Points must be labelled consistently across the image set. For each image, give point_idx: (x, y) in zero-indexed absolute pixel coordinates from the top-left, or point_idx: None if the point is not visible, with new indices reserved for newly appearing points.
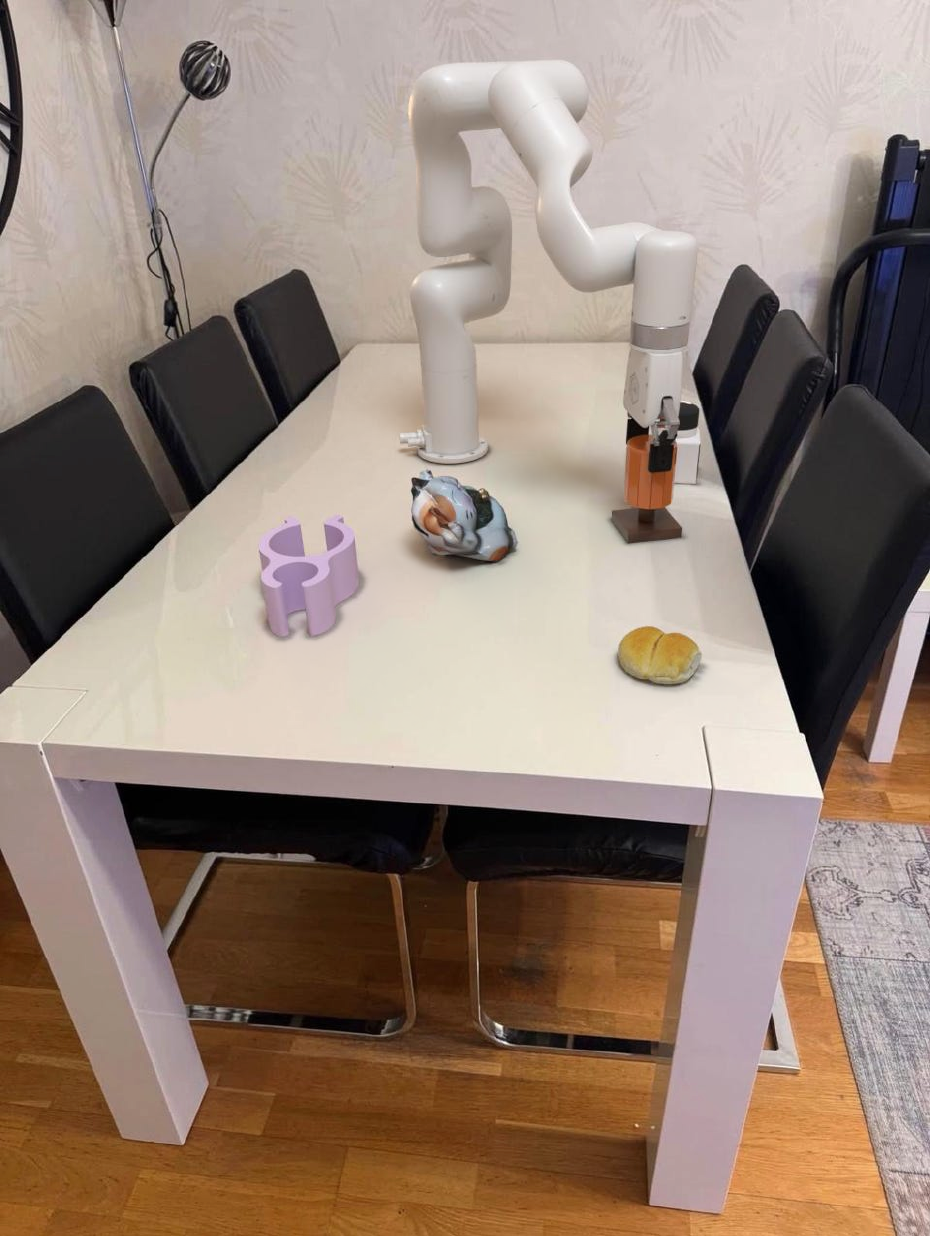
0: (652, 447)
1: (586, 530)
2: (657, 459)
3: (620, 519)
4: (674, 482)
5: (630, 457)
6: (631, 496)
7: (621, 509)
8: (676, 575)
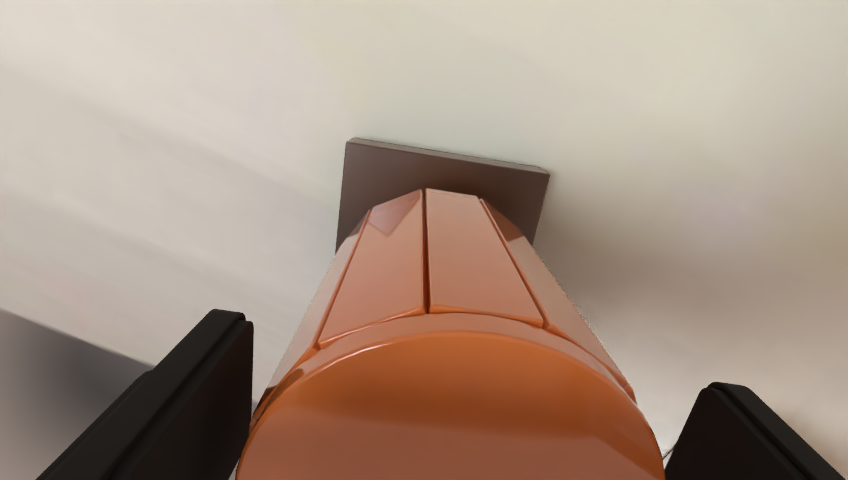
0: (65, 469)
1: (506, 42)
2: (112, 410)
3: (464, 168)
4: (671, 453)
5: (422, 282)
6: (400, 206)
7: (539, 210)
8: (100, 178)
